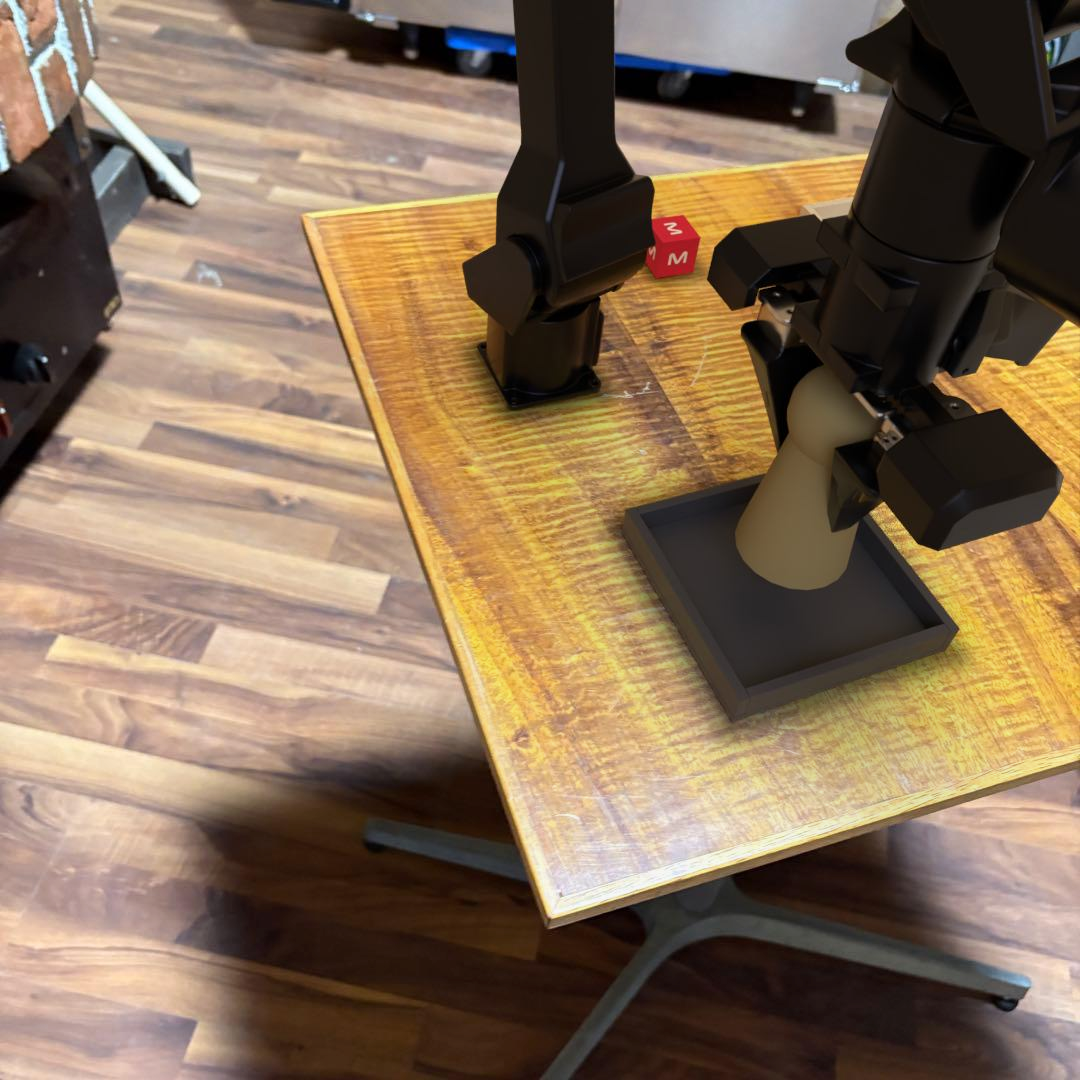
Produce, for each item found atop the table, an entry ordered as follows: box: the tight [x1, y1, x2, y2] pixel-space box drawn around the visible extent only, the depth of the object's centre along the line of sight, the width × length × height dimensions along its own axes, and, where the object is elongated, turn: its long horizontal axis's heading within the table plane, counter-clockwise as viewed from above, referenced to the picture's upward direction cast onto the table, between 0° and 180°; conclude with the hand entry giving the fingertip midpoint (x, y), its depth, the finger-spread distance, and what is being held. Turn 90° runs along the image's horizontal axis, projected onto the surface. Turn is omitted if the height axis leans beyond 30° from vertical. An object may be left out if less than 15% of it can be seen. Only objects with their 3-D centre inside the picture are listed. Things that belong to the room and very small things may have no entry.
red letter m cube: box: [645, 214, 701, 279], centre depth 75 cm, size 3×3×3 cm
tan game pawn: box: [735, 365, 885, 590], centre depth 50 cm, size 6×6×11 cm
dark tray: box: [621, 472, 961, 723], centre depth 56 cm, size 13×13×2 cm
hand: (813, 495), depth 51 cm, fingers closed on tan game pawn, 4 cm apart
